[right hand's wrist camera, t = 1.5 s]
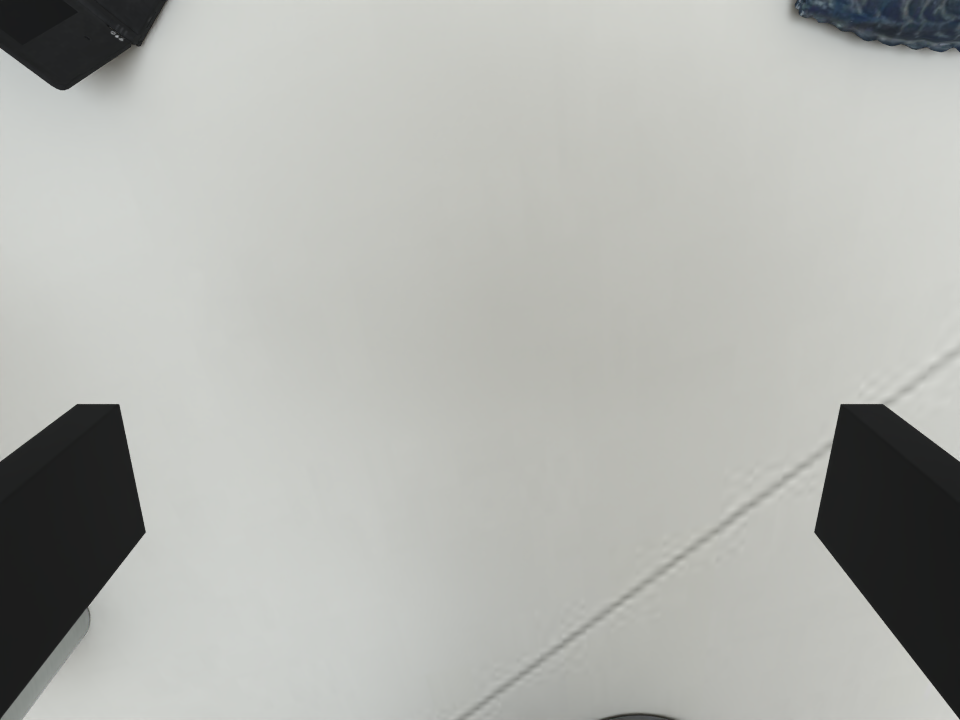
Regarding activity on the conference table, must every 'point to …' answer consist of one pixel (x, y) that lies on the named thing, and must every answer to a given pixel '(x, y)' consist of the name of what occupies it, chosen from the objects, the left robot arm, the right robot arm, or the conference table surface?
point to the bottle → (48, 669)
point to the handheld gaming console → (72, 34)
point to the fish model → (892, 20)
